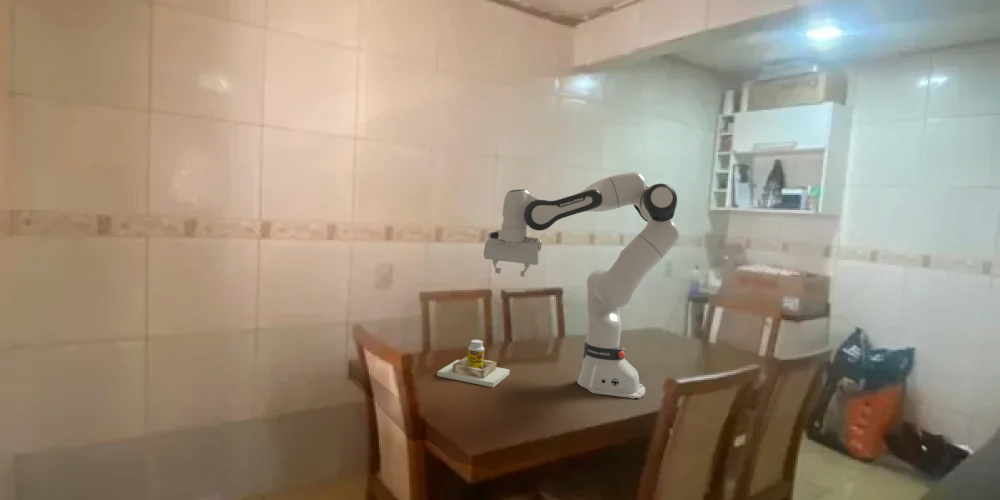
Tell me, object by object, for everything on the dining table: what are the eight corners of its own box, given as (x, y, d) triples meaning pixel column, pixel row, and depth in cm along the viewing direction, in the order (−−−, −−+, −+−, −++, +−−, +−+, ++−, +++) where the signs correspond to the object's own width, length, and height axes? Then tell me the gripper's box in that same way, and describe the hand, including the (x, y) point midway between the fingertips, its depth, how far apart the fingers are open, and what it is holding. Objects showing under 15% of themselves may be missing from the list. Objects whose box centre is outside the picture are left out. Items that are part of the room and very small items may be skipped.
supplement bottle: (466, 372, 179) (469, 342, 178) (465, 367, 185) (468, 338, 184) (483, 373, 180) (485, 343, 179) (482, 368, 185) (484, 339, 184)
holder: (509, 373, 186) (510, 362, 186) (493, 387, 171) (494, 375, 171) (457, 363, 193) (458, 352, 193) (437, 375, 178) (438, 364, 178)
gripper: (544, 238, 187) (541, 277, 188) (489, 232, 194) (487, 270, 195) (539, 238, 181) (536, 279, 182) (483, 233, 188) (480, 272, 189)
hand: (510, 274), depth 188 cm, fingers open, 8 cm apart
